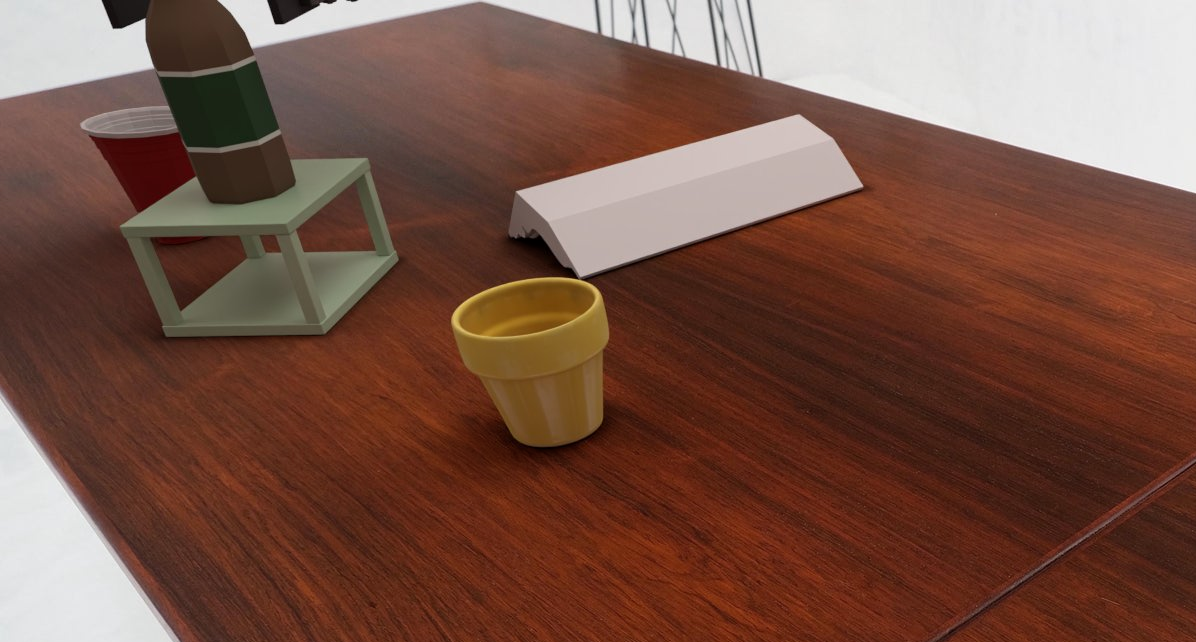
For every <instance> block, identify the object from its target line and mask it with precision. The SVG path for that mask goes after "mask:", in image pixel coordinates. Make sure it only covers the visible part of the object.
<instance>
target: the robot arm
mask: <svg viewBox="0 0 1196 642" xmlns="http://www.w3.org/2000/svg"><path fill="white" fill-rule="evenodd" d="M150 1H151V0H101V3H102V5H103V8H104V10H105V13H106V16H107V18H108V21H109V23H110V25H111V28H112V30H121V29H125V28H127V27H129V26H132V25H134V24H137V23H138V22H141V21H142V20H145V19H146V15H147V12H148V8H149V5H150ZM345 1H346V2H350V3H356V2H357V1H359V0H345ZM266 2H267V5H268V8H269V11H270V14H271V17H272V21H273V24H274V25H275V26H279V25H281V26H282V25H287V23H289V22H292V21H294V20H295V19H297V18H299V17H301V16H303V15H305V14H307V13H309V12H310V11H312V10H315V9H316V8H318V7H320V6H321V4H327V5H332V4H334V3H336V2H338V0H266Z"/></svg>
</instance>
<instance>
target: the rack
mask: <svg viewBox="0 0 1196 642" xmlns="http://www.w3.org/2000/svg"><path fill="white" fill-rule="evenodd" d="M290 161H291V165H292V168H293V172H294V175H295V179H296V183H295V186H293V187H291V188H290V189H288V190H286V191H285V192H283V193H281V194H279V195H278V196H276V197H272V198H267V199H263V200H258V201H253V202H249V203H244V204H221V203H211V202H210V201H209V200H208V198H207V197H206V195H205V193H204V192H203V190H202V188H201V186H200V183H199V181H198V179H197V177H194V178H193V179H191V180H190V181H188V182H187V183H185V184H184V185H182V186H181V187H179V188H178V189H176V190H174V191H173V192H171V193H170V194H168V195H167V196H165V197H164V198H162V199H161V200H159V201H158V202H156V203H155V204H153V205H152V206H150V207H148V208H147V209H145V210H144V211H142V212H141V213H139V212H138V213H137V214H136V215H135V216H132V218H130V219H128V220H127V221H126V222H124V223H122V224H121V225H120V226H119V229H120V232H121V234H122V237H123V238H125V239H126V242H127V243H128V246H129V249H130V251H131V253H132V255H133V258H134V261H135V262H136V265H137V268H138V270H139V271H140V274H141V277H142V279H143V281H144V284H145V286H146V288H147V291H148V293H149V296H150V297H151V301H152V302H153V305H154V307H155V309H156V312H157V314H158V316H159V319H160V321H161V323H162V326H161V328H162V330H163V333H164V335H165V337H166V338H182V337H189V338H191V337H244V336H245V337H246V336H247V337H249V336H251V337H252V336H253V337H254V336H257V337H258V336H313V335H314V336H316V335H317V336H318V335H319V336H320V335H321V336H322V335H324V336H325V335H326V334H327V333H328V332H329V331H331V330H332V328H333V327H334V326H335V325H336V324H337V323H338V322H339V321H340V320H341V319H342V318H343V317H344V316H345V315H346V314H347V313H348V312H349V311H350V310H351V309H352V308H353V307H354V306H355V305H356V304H357V303H358V302H359V301H360V300H361V299H363V297H364V296H365V295H366V294H367V293H368V292H369V291H370V290H371V289H372V288H373V287H374V286H375V285H376V284H377V283H378V282H379V281H380V280H381V279H382V278H383V277H384V276H385V275H386V274H387V273H388V272H389V271H390V270H391V269H392V268H393V267H394V266H395V265H396V264H397V263H398V261H400V259H399V256H398V252H397V251H396V250H395V248H394V245H393V241H392V238H391V234H390V232H389V228H388V225H387V222H386V219H385V214H384V211H383V208H382V205H381V201H380V199H379V194H378V191H377V189H376V185H375V182H374V179H373V175H372V173H371V164H370V161H369V158H368V157H353V158H351V157H347V158H305V159H304V158H303V159H299V158H298V159H297V158H296V159H290ZM353 183H354V185H355V188H356V191H357V194H358V198H359V202H360V204H361V208H362V211H363V214H364V217H365V221H366V223H367V226H368V230H369V233H370V236H371V239H372V243H373V246H374V249H375V250H368V251H367V250H365V251H364V250H362V251H359V250H358V251H357V250H355V251H354V250H353V251H309V252H305V251H304V249H303V246H302V243H301V240H300V237H299V234H298V232H297V229H299V228H300V227H301V226H302V225H304V223H306V222H307V221H308V220H309V219H311V218H312V217H313V216H314V215H315V214H317V213H318V212H319V211H321V209H323V208H324V207H325V206H326V205H328V204H329V203H330V202H332V201H333V200H334V199H335V198H336V197H338V196H340V194H342V193H343V192H344V191H345V190H346V189H347V188H348V187H350V186H351V185H352V184H353ZM185 236H208V237H229V236H230V237H232V236H233V237H234V236H236V237H237V236H239V239H240V241H241V244H242V246H243V250H244V252H245V255H246V257H247V258H246V259H244V260H243V261H242V262H241V263H239V264H238V265H237V266H236V267H234V268H233V269H232V270H231V271H229V272H228V273H227V274H225V276H223V277H222V278H221V279H219V280H218V281H217V282H216V283H214V284H213V285H212V286H211V287H210V288H208V289H207V290H205V291H204V292H203V293H202V294H201V295H200V296H198V297H197V298H196V299H195V300H193V301H192V302H191V303H189V304H188V305H187V306H186V307H184V308H183V309H182V310H180V307H179V305H178V303H177V300H176V297H175V295H174V293H173V290H172V288H171V286H170V283H169V281H168V278H167V276H166V274H165V272H164V268H163V267H162V264H161V262H160V260H159V256H158V254H157V252H156V250H155V249H156V248H155V247H154V245H153V242H152V239H151V238H155V237H185ZM260 236H275V238H276V240H277V244H278V247H279V249H280V252H266V251H265V247H264V245H263V242H262V239H261V237H260Z"/></svg>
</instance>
